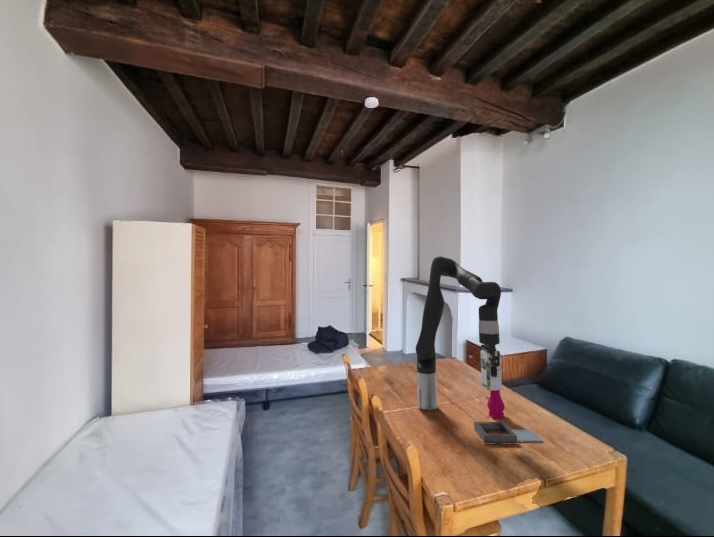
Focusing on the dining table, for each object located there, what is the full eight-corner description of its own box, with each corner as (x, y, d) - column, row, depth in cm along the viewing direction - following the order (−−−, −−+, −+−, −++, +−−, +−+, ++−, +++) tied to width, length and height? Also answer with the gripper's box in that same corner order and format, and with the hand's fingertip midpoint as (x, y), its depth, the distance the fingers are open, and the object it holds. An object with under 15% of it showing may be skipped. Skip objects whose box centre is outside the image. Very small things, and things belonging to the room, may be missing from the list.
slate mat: (518, 442, 115) (518, 440, 115) (508, 431, 124) (507, 429, 124) (542, 442, 114) (542, 440, 114) (530, 431, 123) (530, 429, 123)
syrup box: (481, 386, 124) (479, 350, 125) (495, 385, 124) (493, 349, 125) (488, 391, 118) (486, 353, 119) (502, 390, 118) (500, 352, 119)
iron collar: (484, 444, 114) (484, 435, 114) (474, 429, 126) (473, 421, 126) (517, 444, 113) (516, 435, 114) (503, 429, 125) (503, 421, 126)
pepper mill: (491, 411, 143) (489, 368, 145) (507, 415, 138) (505, 371, 140) (485, 416, 138) (482, 371, 140) (501, 421, 133) (499, 374, 134)
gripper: (473, 329, 130) (475, 369, 129) (485, 334, 115) (487, 379, 114) (491, 328, 129) (493, 369, 128) (505, 334, 115) (508, 379, 114)
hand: (490, 373), depth 121 cm, fingers closed on syrup box, 6 cm apart
